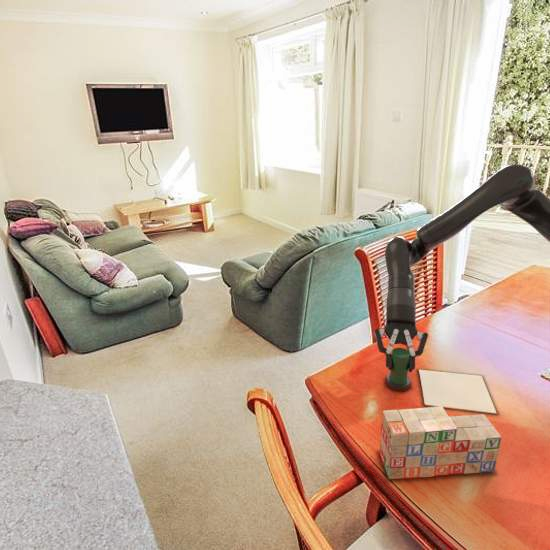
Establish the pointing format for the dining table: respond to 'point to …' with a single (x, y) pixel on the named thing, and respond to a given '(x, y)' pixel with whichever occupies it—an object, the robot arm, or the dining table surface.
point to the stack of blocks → (436, 443)
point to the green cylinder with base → (399, 370)
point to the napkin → (455, 391)
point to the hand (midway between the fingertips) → (400, 370)
